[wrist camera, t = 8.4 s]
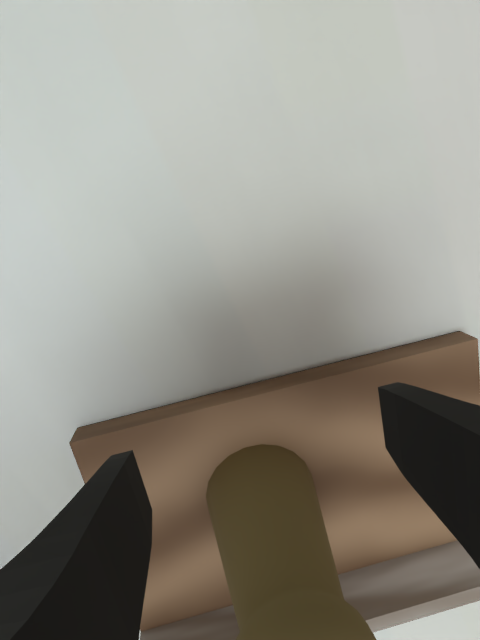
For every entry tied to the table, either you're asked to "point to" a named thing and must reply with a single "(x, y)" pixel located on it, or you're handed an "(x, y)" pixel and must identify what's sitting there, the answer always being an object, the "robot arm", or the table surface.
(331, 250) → the table surface
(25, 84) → the table surface
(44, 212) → the table surface
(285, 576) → the cork
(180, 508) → the tan wooden plank
